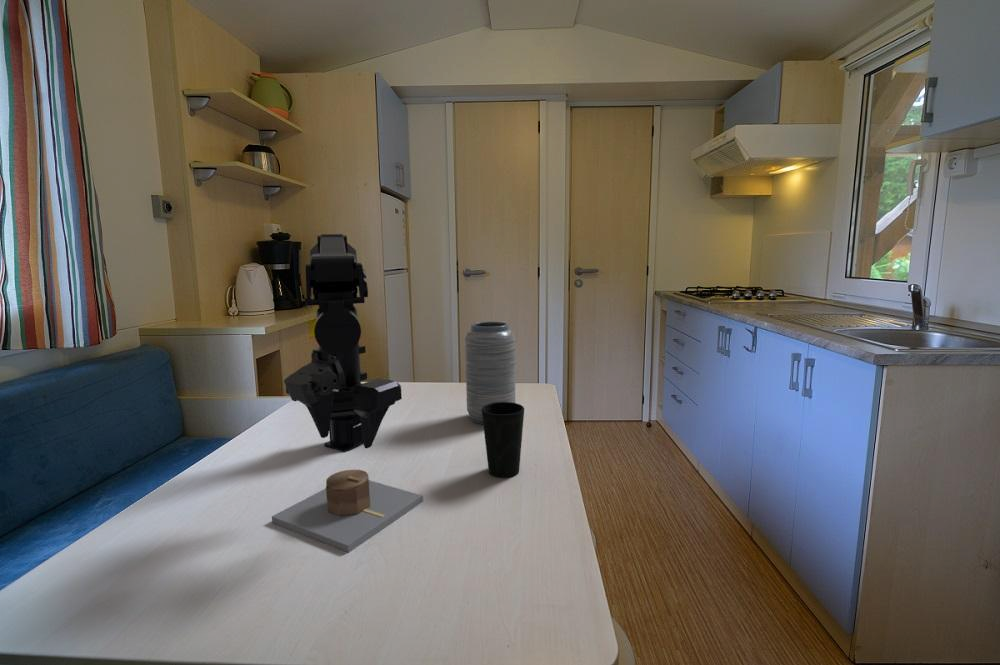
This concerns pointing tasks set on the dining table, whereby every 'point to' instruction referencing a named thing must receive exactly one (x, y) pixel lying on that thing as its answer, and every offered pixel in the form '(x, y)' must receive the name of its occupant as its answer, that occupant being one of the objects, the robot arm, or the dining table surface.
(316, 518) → the base plate
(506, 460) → the cup
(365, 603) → the dining table surface
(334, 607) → the dining table surface
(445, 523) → the dining table surface
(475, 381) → the vase
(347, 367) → the robot arm
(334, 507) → the knob
